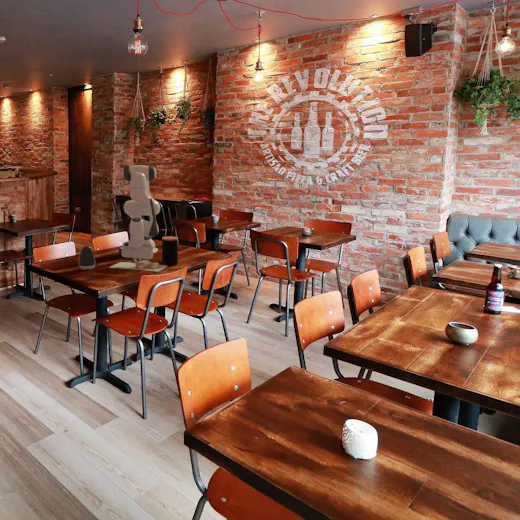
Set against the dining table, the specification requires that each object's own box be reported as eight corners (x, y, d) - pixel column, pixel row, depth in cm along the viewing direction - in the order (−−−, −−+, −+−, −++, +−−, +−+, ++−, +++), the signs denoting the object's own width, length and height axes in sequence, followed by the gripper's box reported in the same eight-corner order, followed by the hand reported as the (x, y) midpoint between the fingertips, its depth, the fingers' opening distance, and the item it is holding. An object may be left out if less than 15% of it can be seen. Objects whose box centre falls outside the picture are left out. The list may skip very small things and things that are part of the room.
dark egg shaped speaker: (98, 268, 295) (97, 244, 292) (91, 272, 285) (90, 247, 282) (83, 267, 296) (82, 243, 293) (75, 271, 286) (74, 247, 283)
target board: (120, 263, 309) (120, 261, 309) (167, 267, 304) (167, 265, 304) (109, 269, 294) (109, 267, 294) (158, 273, 289) (158, 271, 289)
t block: (135, 268, 293) (135, 264, 292) (143, 264, 304) (143, 260, 304) (153, 270, 291) (153, 265, 290) (161, 265, 302) (161, 261, 302)
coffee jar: (172, 261, 322) (172, 235, 318) (181, 264, 314) (181, 238, 310) (159, 263, 314) (158, 237, 310) (167, 266, 307) (167, 239, 303)
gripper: (154, 243, 297) (154, 264, 300) (124, 241, 300) (125, 262, 303) (150, 245, 291) (151, 266, 294) (120, 243, 294) (120, 264, 297)
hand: (137, 264), depth 298 cm, fingers closed
